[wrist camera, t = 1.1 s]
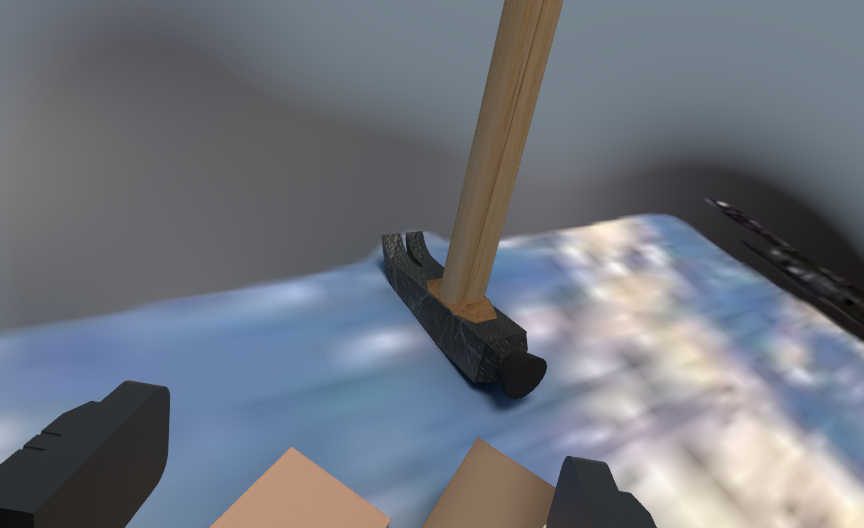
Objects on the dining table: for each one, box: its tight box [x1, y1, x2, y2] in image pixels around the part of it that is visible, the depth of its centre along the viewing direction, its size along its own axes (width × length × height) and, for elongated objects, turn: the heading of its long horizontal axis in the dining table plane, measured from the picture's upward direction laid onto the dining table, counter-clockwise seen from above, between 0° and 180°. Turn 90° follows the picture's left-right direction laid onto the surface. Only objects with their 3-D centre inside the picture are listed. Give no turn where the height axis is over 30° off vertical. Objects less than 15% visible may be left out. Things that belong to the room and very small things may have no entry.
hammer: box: [382, 0, 563, 400], centre depth 46 cm, size 20×5×30 cm, turn 33°
